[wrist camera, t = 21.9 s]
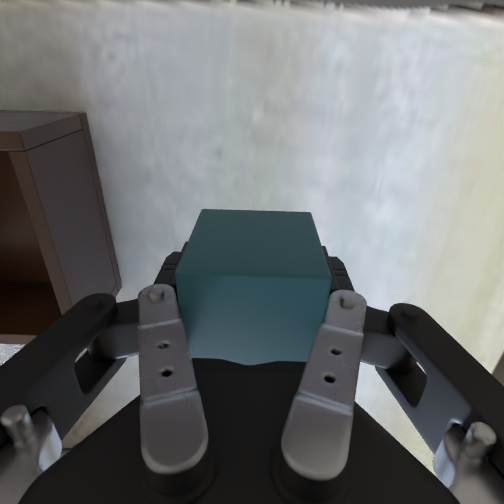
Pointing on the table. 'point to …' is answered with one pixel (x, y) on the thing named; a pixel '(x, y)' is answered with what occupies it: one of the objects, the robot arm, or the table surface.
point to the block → (252, 286)
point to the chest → (49, 222)
